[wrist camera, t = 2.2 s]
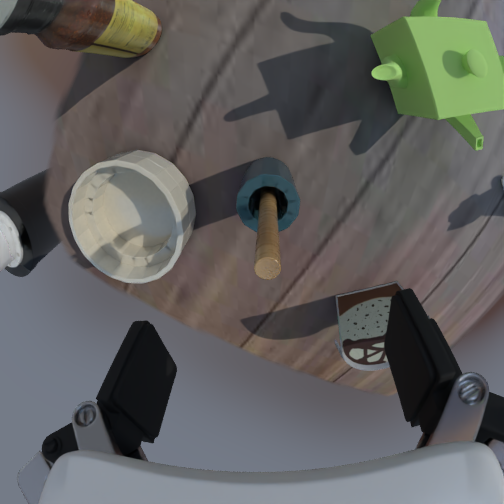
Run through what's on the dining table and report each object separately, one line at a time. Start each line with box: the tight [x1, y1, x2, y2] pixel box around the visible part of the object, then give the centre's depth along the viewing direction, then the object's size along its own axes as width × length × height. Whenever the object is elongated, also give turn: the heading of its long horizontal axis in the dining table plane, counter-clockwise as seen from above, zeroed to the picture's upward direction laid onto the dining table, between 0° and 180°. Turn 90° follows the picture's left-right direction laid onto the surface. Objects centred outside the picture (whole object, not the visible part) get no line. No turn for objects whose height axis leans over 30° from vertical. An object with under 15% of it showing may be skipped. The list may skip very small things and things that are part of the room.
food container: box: [335, 281, 430, 370], centre depth 33 cm, size 12×6×10 cm, turn 105°
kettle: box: [370, 0, 504, 151], centre depth 17 cm, size 15×14×11 cm
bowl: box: [69, 150, 196, 283], centre depth 29 cm, size 14×14×6 cm
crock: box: [236, 157, 300, 232], centre depth 26 cm, size 5×5×8 cm
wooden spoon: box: [254, 186, 281, 280], centre depth 22 cm, size 1×3×17 cm, turn 11°
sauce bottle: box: [0, 0, 162, 58], centre depth 13 cm, size 7×6×20 cm
